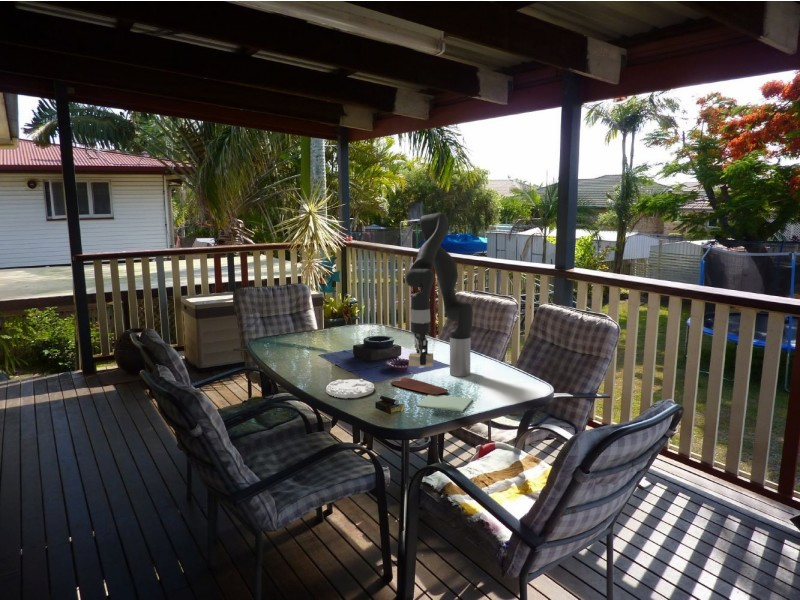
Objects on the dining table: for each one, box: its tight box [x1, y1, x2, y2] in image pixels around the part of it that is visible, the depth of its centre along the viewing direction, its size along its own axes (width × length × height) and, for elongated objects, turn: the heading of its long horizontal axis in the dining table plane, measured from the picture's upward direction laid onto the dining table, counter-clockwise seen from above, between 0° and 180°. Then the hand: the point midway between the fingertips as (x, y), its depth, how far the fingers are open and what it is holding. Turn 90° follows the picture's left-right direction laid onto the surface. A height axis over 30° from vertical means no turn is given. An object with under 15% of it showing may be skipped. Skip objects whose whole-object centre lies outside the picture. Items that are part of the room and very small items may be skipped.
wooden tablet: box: [389, 377, 450, 395], centre depth 243 cm, size 27×10×2 cm, turn 45°
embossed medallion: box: [325, 378, 375, 400], centre depth 243 cm, size 20×20×3 cm
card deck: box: [408, 352, 434, 368], centre depth 227 cm, size 5×9×4 cm, turn 81°
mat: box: [416, 393, 474, 413], centre depth 226 cm, size 14×18×1 cm
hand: (421, 362), depth 227 cm, fingers closed on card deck, 6 cm apart
